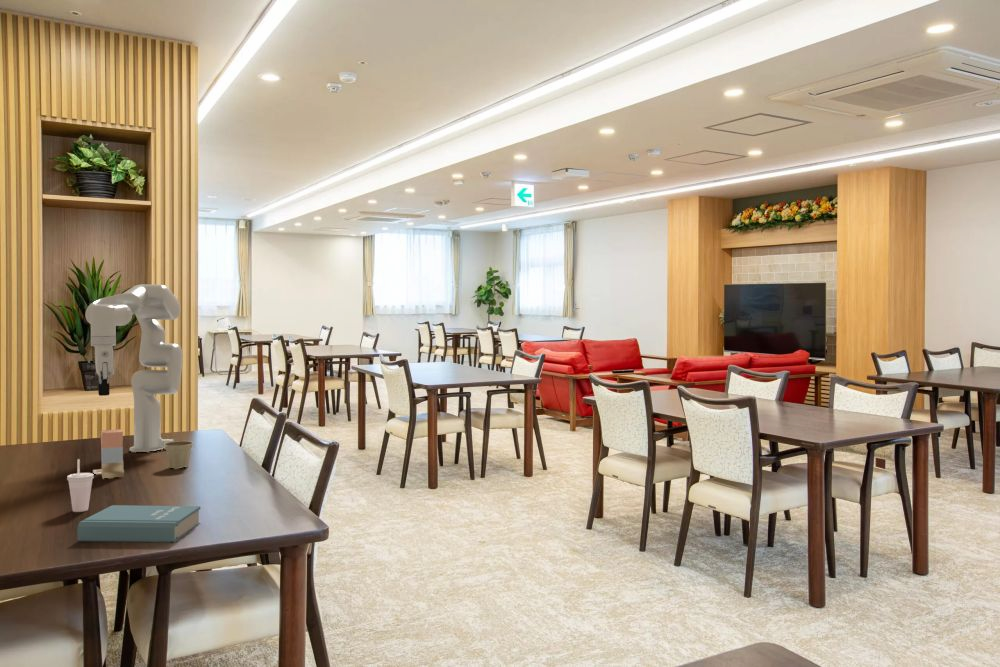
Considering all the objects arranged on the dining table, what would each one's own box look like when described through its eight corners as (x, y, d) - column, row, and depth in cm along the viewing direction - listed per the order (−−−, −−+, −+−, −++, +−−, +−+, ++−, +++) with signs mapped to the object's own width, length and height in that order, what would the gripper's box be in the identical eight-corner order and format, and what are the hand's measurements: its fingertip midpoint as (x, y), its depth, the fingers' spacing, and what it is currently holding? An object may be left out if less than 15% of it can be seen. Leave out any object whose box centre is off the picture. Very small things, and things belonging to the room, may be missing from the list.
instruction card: (122, 468, 254) (122, 466, 254) (123, 472, 249) (124, 470, 248) (92, 470, 250) (92, 469, 250) (93, 474, 244) (93, 473, 244)
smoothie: (76, 506, 204) (76, 456, 204) (98, 507, 204) (98, 457, 203) (61, 513, 198) (61, 461, 197) (84, 513, 197) (85, 461, 197)
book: (200, 525, 190) (200, 506, 190) (173, 544, 174) (173, 524, 174) (112, 524, 189) (112, 505, 189) (77, 543, 173) (77, 522, 173)
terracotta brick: (121, 444, 246) (121, 429, 246) (122, 446, 241) (122, 431, 241) (100, 445, 243) (100, 430, 243) (101, 448, 238) (102, 433, 238)
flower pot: (168, 471, 250) (168, 446, 250) (160, 467, 257) (160, 442, 257) (196, 468, 256) (196, 443, 256) (187, 463, 264) (187, 440, 263)
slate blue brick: (121, 458, 246) (121, 444, 246) (122, 462, 241) (122, 446, 241) (101, 460, 243) (101, 445, 243) (102, 463, 238) (102, 448, 238)
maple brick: (121, 473, 246) (121, 458, 246) (123, 477, 241) (123, 462, 241) (101, 475, 243) (101, 460, 243) (102, 478, 238) (102, 463, 238)
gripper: (118, 342, 244) (118, 397, 245) (113, 339, 257) (114, 392, 257) (92, 343, 240) (92, 398, 241) (89, 340, 252) (89, 393, 253)
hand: (103, 395), depth 249 cm, fingers closed
